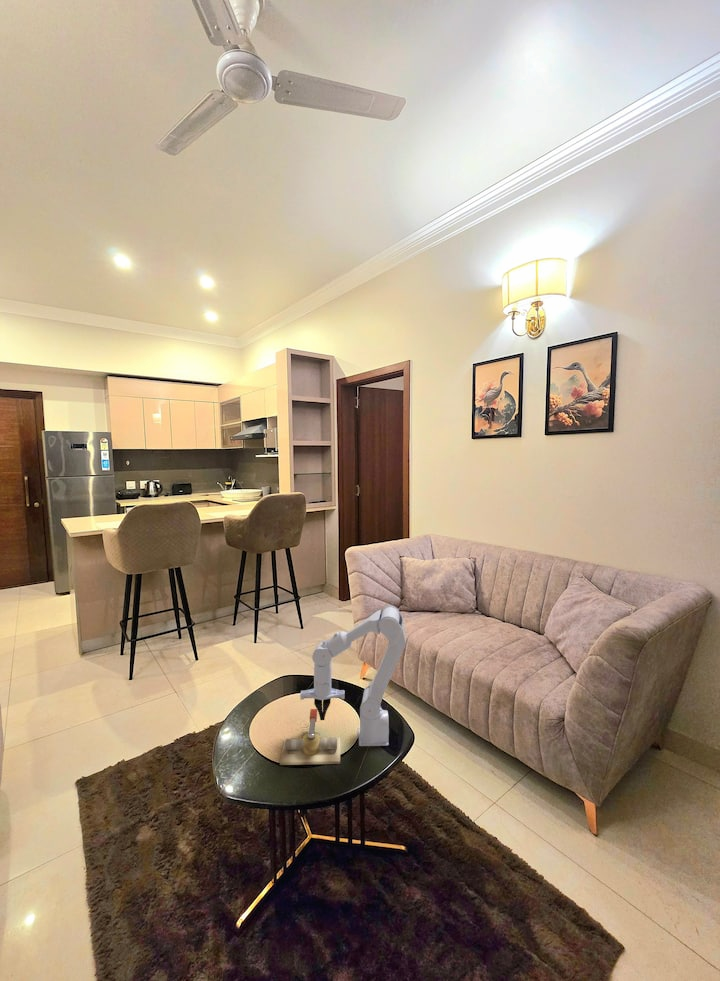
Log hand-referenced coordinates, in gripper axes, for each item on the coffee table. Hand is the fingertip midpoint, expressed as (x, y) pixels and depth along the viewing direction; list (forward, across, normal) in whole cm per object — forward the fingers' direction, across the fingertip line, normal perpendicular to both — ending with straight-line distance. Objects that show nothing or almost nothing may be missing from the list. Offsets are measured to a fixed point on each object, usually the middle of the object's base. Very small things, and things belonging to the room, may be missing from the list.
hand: (322, 718), depth 133 cm
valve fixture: (+5, +3, +9) cm, 11 cm away
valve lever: (0, +3, +4) cm, 5 cm away
